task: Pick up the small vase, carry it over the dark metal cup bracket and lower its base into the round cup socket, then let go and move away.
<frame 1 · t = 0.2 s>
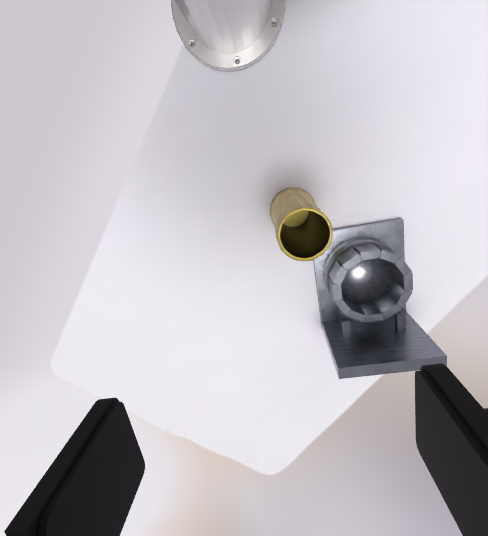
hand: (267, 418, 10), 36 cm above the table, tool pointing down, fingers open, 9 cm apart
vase: (292, 210, 43), on the table
cup bracket: (358, 269, 45), on the table
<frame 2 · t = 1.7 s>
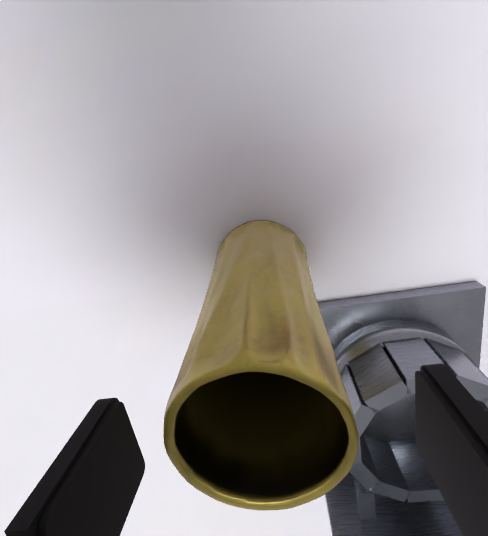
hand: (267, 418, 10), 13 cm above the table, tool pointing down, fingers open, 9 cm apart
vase: (261, 262, 22), on the table
cup bracket: (386, 370, 24), on the table
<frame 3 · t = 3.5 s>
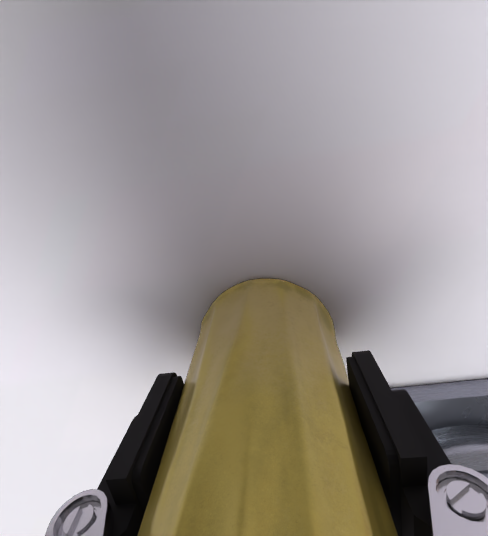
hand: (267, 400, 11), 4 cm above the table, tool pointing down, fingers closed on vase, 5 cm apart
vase: (267, 335, 15), on the table, touching gripper
cup bracket: (446, 484, 17), on the table
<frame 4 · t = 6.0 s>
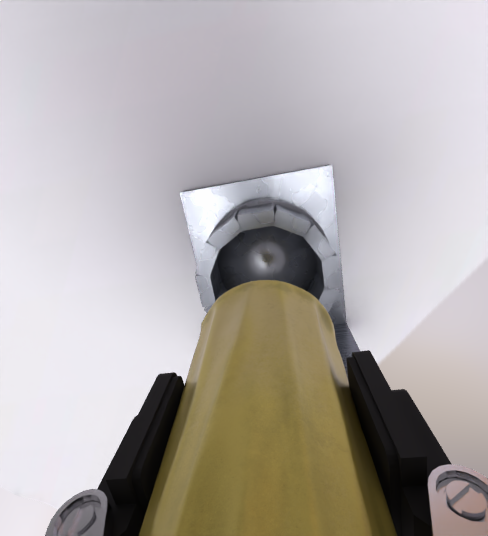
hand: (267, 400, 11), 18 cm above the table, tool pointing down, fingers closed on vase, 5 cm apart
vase: (267, 337, 15), point 13 cm above the table, touching gripper
cup bracket: (266, 255, 27), on the table
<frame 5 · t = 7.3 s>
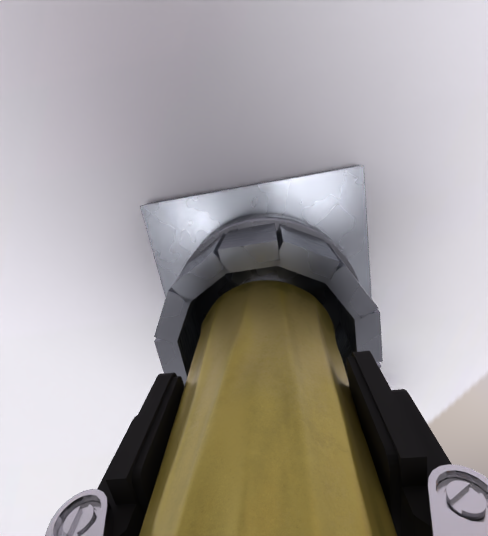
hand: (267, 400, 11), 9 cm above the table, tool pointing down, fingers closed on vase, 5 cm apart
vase: (267, 337, 15), point 5 cm above the table, touching gripper
cup bracket: (266, 291, 20), on the table
when the fingers open (8 cm above the table, at t = 8.4 s): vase drops 1 cm, resting on cup bracket.
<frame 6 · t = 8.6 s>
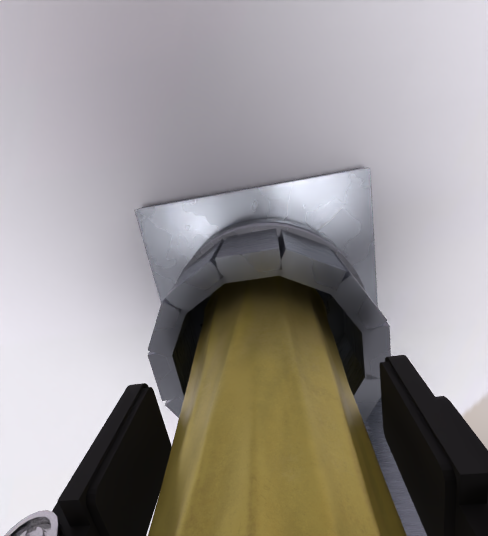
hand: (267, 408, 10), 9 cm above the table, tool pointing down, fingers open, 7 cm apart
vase: (264, 320, 16), point 3 cm above the table, touching cup bracket
cup bracket: (267, 299, 19), on the table
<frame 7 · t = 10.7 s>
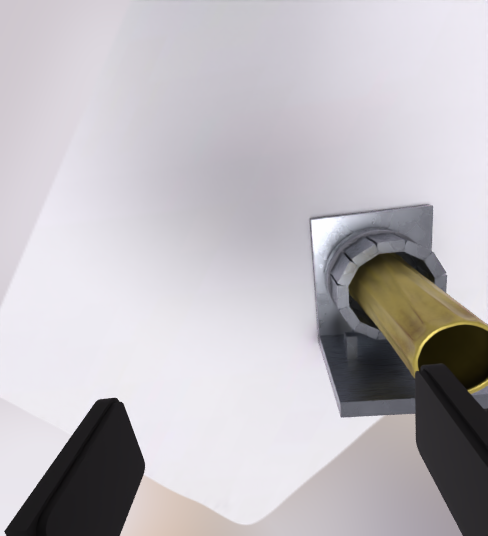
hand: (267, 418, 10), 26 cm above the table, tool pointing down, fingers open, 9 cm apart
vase: (376, 278, 32), point 3 cm above the table, touching cup bracket
cup bracket: (369, 270, 35), on the table
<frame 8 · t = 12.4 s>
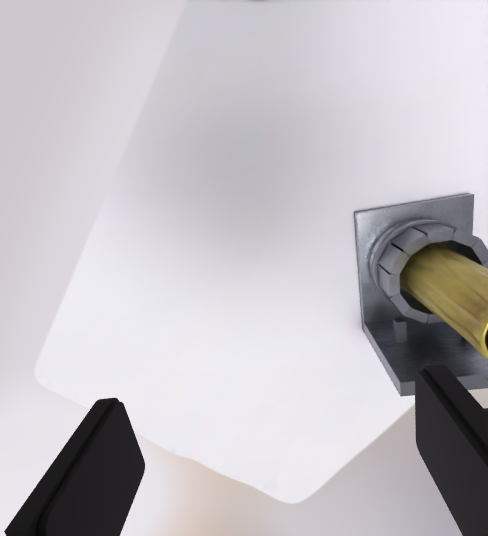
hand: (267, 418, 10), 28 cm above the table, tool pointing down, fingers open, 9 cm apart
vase: (421, 265, 34), point 3 cm above the table, touching cup bracket
cup bracket: (411, 259, 37), on the table
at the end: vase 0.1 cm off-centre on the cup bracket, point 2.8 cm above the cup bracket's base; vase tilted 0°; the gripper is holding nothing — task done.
